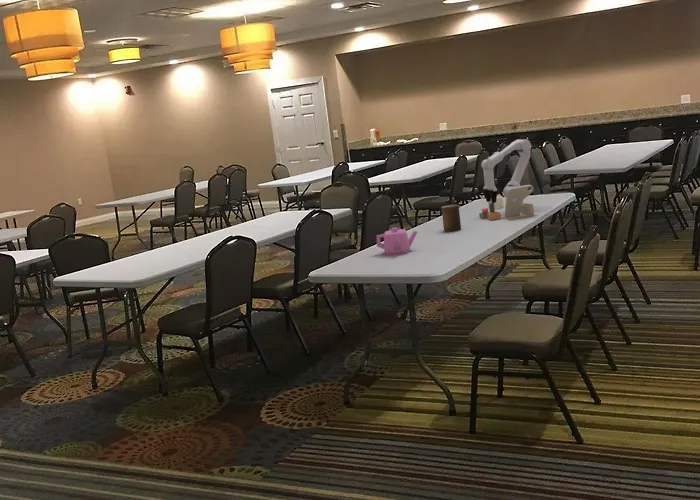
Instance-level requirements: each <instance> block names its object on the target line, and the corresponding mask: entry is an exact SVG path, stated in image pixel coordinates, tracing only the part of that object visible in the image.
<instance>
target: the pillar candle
mask: <svg viewBox="0 0 700 500" xmlns="http://www.w3.org/2000/svg"><path fill="white" fill-rule="evenodd" d="M460 213H461V212H460V205H459V204H448V205H443V206H441V214H442V215H441V216H442V224H443V232H457V231H461V230H462V223H461V215H460ZM460 229H461V230H460ZM456 230H457V231H456Z"/></svg>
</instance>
